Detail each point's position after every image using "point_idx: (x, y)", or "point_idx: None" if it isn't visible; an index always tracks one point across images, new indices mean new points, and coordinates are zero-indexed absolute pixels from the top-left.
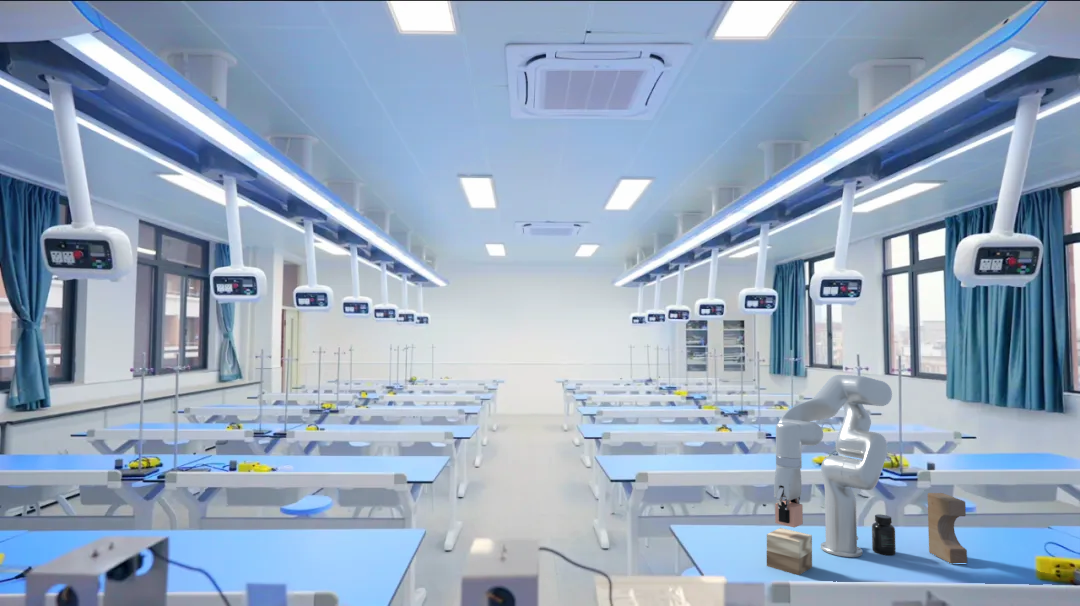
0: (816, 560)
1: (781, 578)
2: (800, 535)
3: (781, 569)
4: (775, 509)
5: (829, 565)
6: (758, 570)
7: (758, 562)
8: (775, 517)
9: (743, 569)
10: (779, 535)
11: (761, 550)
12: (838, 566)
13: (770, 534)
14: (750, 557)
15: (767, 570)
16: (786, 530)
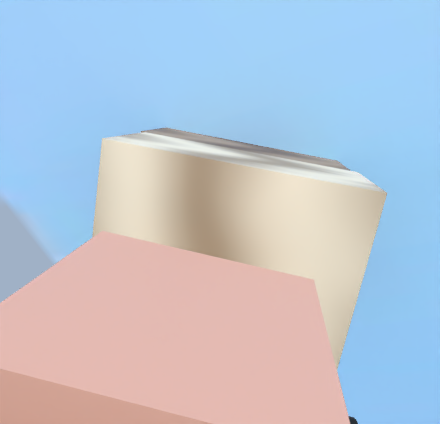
0: (421, 322)
1: (52, 227)
2: None
3: None
4: (12, 298)
5: (377, 381)
6: (76, 110)
7: (192, 73)
8: (73, 253)
9: (36, 40)
10: (138, 236)
11: (428, 20)
12: (387, 415)
13: (116, 168)
14: (247, 6)
15: None
16: (327, 255)
